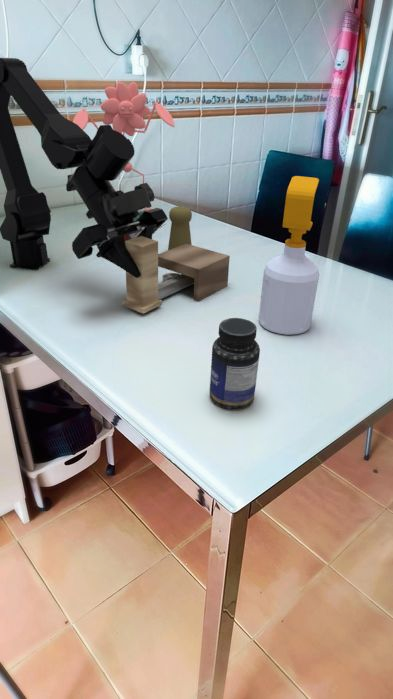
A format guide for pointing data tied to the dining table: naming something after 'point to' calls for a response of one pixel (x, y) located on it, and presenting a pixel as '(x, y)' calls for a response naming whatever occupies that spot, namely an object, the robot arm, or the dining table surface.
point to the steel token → (169, 276)
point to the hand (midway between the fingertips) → (147, 273)
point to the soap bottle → (291, 267)
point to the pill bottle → (234, 364)
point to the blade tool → (149, 277)
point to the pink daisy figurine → (125, 113)
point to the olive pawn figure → (179, 227)
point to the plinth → (198, 268)
